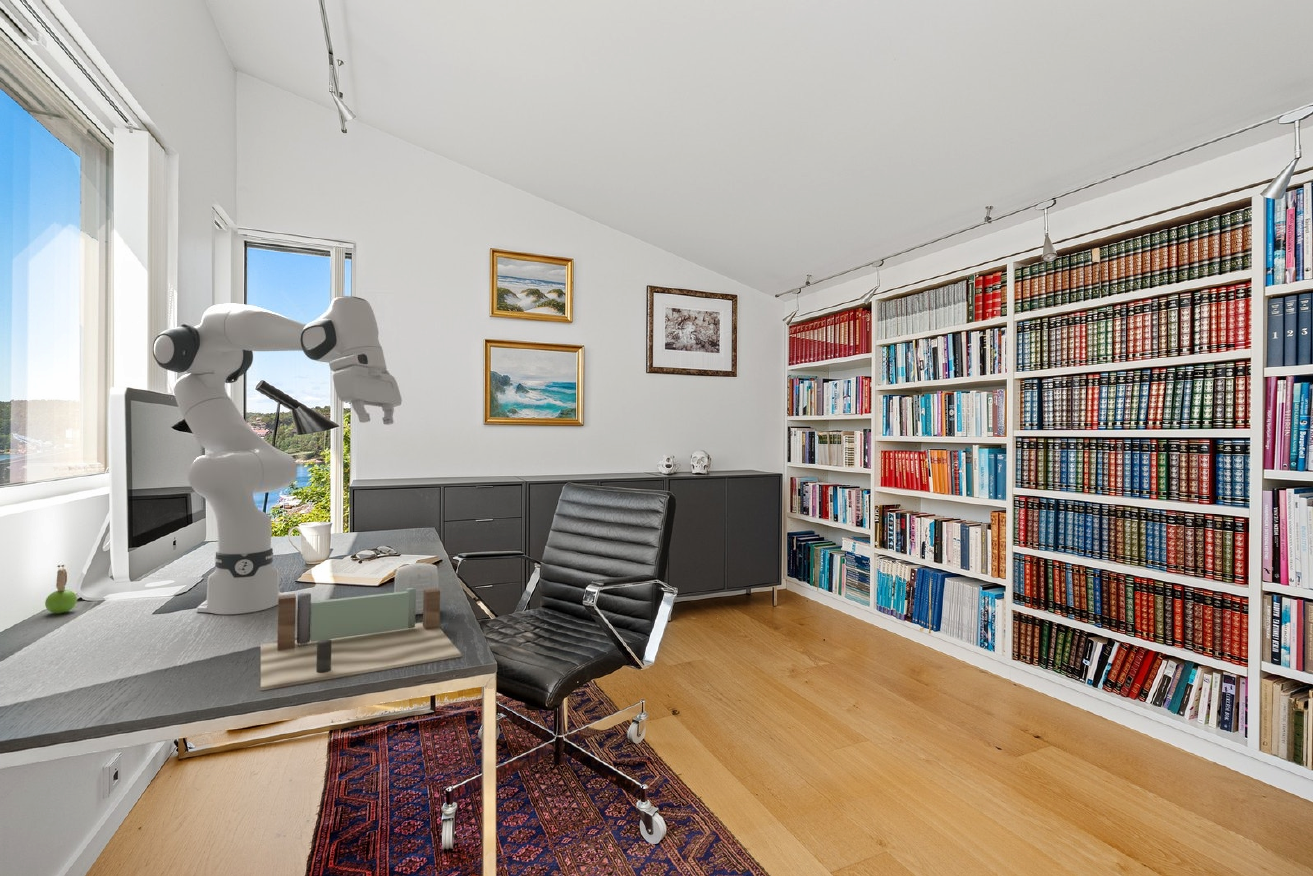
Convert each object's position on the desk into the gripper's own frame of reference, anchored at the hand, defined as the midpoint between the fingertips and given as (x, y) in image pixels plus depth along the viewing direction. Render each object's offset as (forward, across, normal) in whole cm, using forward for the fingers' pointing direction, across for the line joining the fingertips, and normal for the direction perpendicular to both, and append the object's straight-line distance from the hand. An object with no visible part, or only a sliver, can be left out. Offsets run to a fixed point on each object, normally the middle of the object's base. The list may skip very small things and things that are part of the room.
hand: (377, 423), depth 142 cm
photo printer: (+46, -14, -9) cm, 49 cm away
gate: (+45, +6, -11) cm, 46 cm away
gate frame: (+47, +12, -7) cm, 49 cm away
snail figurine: (+25, +4, -85) cm, 88 cm away
